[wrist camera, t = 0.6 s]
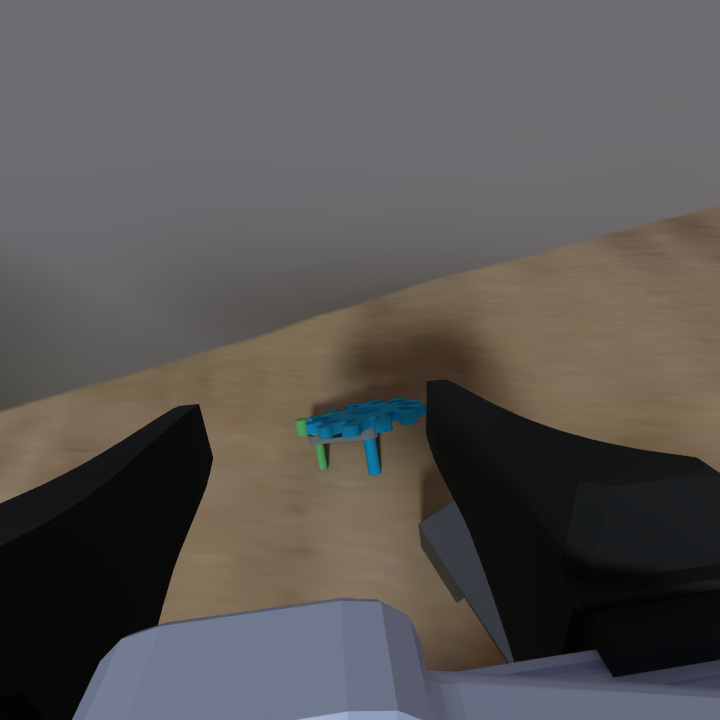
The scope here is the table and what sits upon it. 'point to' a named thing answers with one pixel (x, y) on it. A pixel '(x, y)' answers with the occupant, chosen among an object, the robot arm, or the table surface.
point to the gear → (359, 426)
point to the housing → (462, 569)
